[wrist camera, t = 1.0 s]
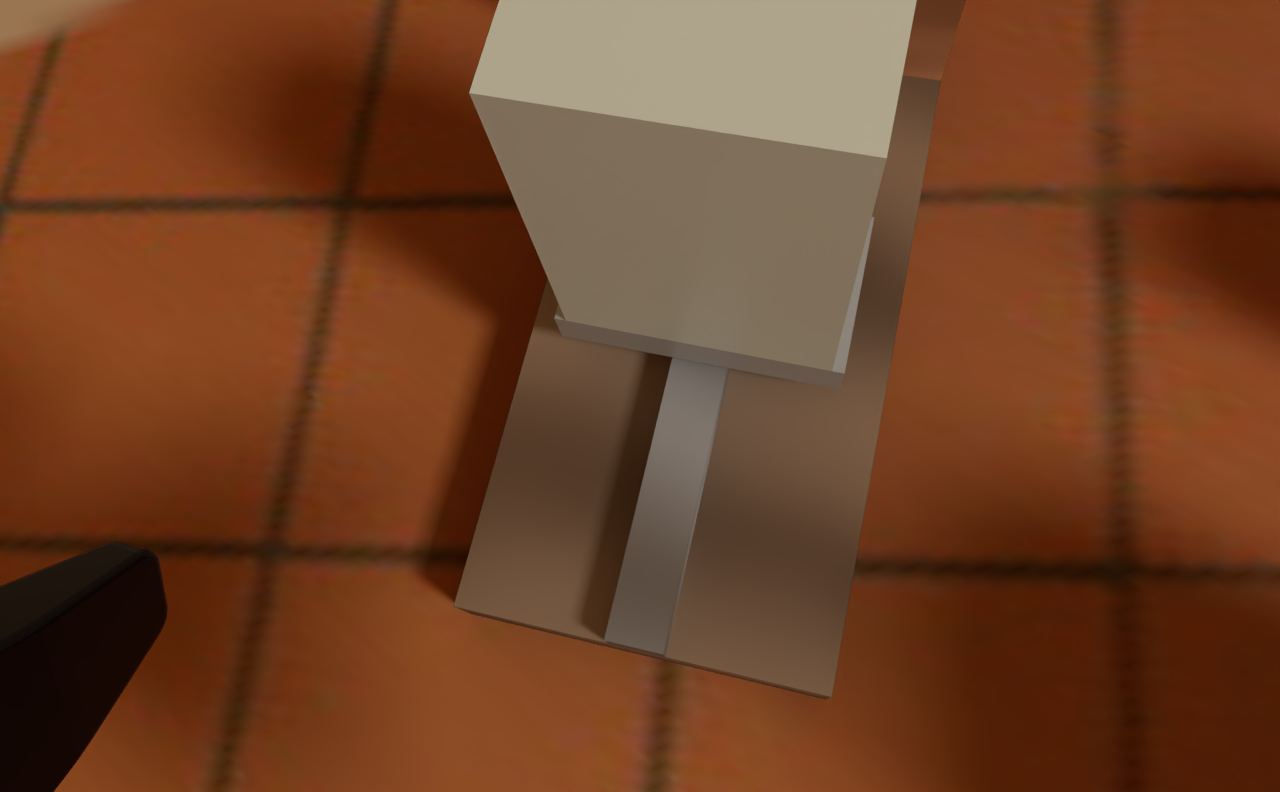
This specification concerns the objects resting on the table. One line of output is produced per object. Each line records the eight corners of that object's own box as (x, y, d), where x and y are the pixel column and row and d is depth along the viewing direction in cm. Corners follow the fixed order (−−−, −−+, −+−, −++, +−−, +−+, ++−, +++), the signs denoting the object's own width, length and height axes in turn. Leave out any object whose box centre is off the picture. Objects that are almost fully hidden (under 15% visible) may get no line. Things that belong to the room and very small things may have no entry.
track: (826, 699, 22) (875, 681, 14) (471, 613, 23) (327, 552, 15) (947, 17, 27) (1036, -289, 19) (649, -23, 28) (612, -326, 20)
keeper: (840, 389, 21) (907, 161, 13) (562, 335, 22) (451, 89, 14) (869, 239, 22) (949, -67, 14) (601, 194, 23) (521, -118, 15)
